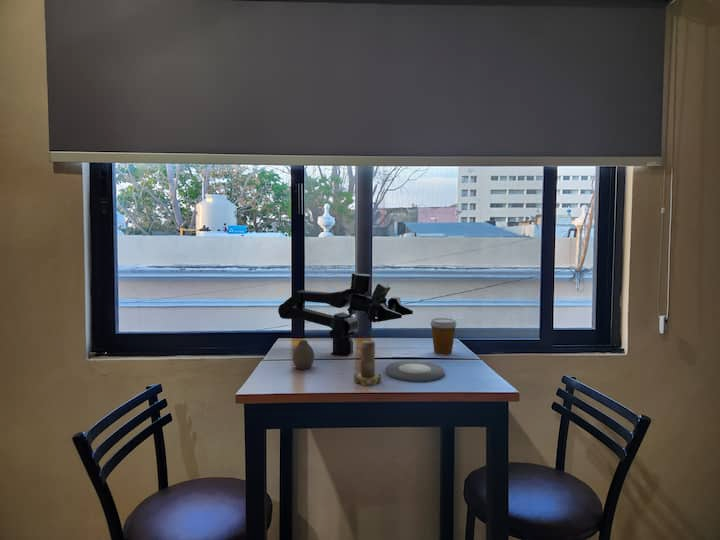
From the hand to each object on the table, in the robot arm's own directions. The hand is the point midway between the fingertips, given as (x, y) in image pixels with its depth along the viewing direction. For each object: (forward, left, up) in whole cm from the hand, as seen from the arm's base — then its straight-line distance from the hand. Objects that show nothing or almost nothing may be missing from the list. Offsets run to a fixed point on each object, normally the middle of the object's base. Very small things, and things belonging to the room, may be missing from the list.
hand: (407, 314), depth 152 cm
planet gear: (-6, -23, -17) cm, 29 cm away
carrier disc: (+5, -10, -17) cm, 20 cm away
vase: (-30, -17, -17) cm, 38 cm away
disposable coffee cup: (+9, +18, -17) cm, 26 cm away
